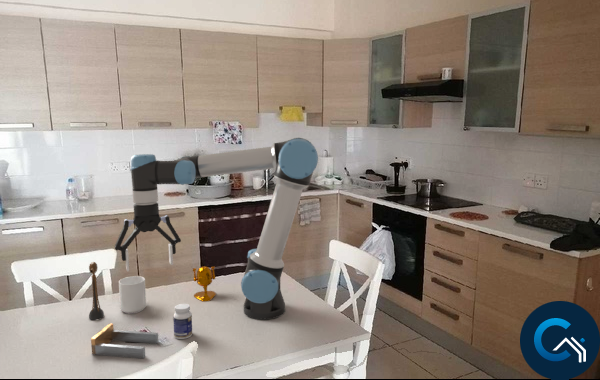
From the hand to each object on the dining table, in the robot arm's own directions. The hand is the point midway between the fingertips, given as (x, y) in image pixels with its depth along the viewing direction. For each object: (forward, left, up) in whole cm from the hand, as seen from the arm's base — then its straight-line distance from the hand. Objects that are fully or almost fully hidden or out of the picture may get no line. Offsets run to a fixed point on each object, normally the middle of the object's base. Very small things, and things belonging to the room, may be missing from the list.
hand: (150, 266), depth 144 cm
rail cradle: (+2, +14, -21) cm, 25 cm away
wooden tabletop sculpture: (+23, -4, -21) cm, 31 cm away
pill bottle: (-12, +4, -21) cm, 25 cm away
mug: (+14, -14, -21) cm, 29 cm away
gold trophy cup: (-8, -28, -21) cm, 36 cm away
